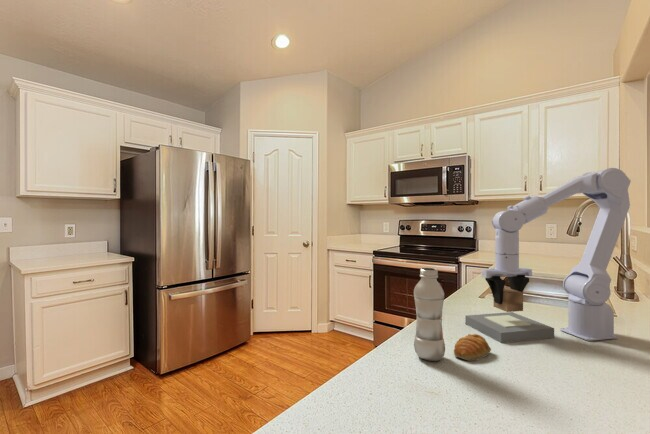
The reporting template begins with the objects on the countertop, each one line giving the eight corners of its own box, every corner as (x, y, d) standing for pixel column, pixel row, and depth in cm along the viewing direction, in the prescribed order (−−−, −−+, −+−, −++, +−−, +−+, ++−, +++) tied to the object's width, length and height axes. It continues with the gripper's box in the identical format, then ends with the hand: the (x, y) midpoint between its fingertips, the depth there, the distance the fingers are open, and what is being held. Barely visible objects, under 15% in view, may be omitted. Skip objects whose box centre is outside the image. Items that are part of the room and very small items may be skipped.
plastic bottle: (442, 367, 65) (441, 272, 65) (410, 360, 69) (409, 269, 69) (448, 356, 71) (447, 268, 71) (418, 349, 74) (417, 265, 74)
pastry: (476, 366, 66) (476, 348, 66) (445, 356, 71) (445, 340, 71) (492, 353, 73) (492, 337, 73) (463, 345, 78) (463, 329, 78)
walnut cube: (508, 305, 89) (508, 288, 89) (523, 310, 84) (523, 292, 84) (493, 306, 88) (493, 288, 88) (507, 311, 83) (507, 293, 83)
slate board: (512, 320, 95) (512, 311, 95) (554, 337, 81) (554, 327, 81) (465, 323, 92) (465, 314, 92) (501, 342, 78) (500, 331, 78)
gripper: (517, 251, 92) (517, 297, 92) (474, 252, 89) (474, 300, 89) (538, 254, 85) (538, 304, 85) (492, 255, 82) (492, 307, 82)
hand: (506, 302), depth 86 cm, fingers closed on walnut cube, 5 cm apart
